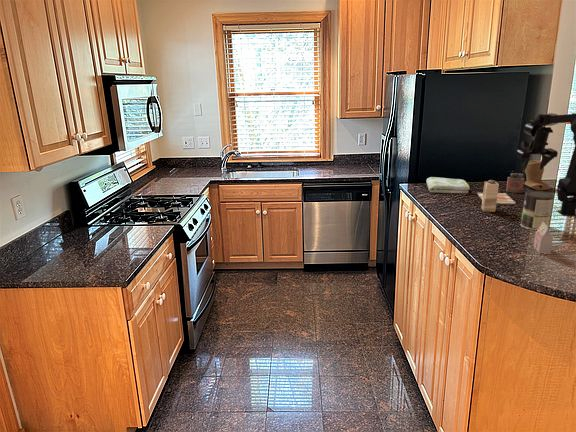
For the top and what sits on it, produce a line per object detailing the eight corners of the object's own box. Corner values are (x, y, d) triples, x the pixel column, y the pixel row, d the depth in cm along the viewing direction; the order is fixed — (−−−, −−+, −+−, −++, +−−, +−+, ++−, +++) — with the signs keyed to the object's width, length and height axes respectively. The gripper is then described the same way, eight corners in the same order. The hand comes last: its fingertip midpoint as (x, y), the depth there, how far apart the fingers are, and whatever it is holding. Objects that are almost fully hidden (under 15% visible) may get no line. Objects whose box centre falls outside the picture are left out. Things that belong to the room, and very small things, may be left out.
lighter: (505, 191, 233) (508, 173, 230) (505, 190, 236) (508, 172, 233) (522, 193, 230) (525, 174, 227) (522, 191, 233) (525, 173, 230)
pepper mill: (495, 211, 201) (499, 182, 196) (483, 211, 202) (487, 181, 197) (492, 208, 205) (496, 179, 201) (481, 208, 206) (484, 179, 202)
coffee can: (517, 227, 180) (522, 194, 175) (523, 221, 187) (528, 189, 183) (545, 232, 174) (551, 198, 169) (550, 225, 181) (556, 193, 177)
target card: (515, 204, 211) (516, 202, 211) (485, 203, 213) (485, 201, 213) (505, 194, 228) (505, 193, 227) (477, 193, 230) (477, 192, 230)
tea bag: (544, 247, 159) (548, 221, 156) (550, 254, 153) (554, 228, 150) (533, 247, 160) (537, 221, 157) (538, 254, 154) (543, 227, 151)
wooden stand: (518, 184, 248) (522, 158, 243) (540, 184, 246) (545, 158, 241) (526, 190, 234) (531, 163, 229) (550, 191, 232) (555, 163, 227)
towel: (470, 194, 231) (471, 185, 229) (428, 193, 235) (429, 184, 233) (464, 186, 248) (465, 177, 246) (425, 185, 252) (426, 176, 250)
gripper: (547, 133, 218) (538, 163, 225) (512, 135, 215) (505, 165, 223) (562, 140, 208) (553, 171, 215) (526, 142, 206) (518, 173, 213)
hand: (532, 169), depth 217 cm, fingers open, 9 cm apart
